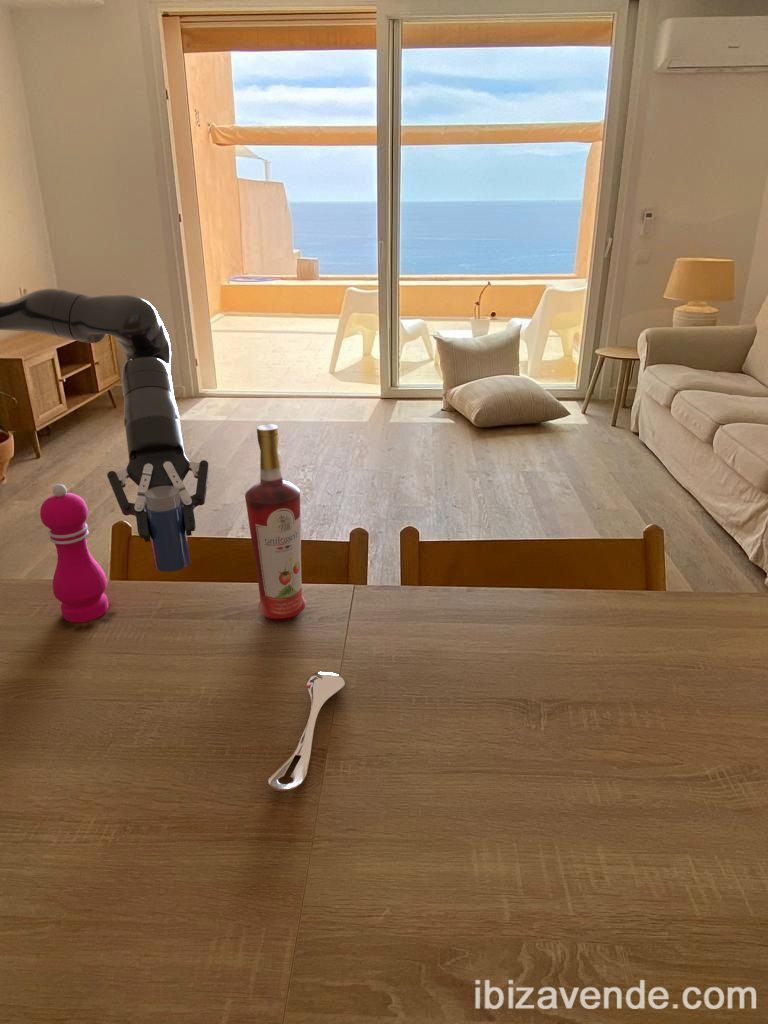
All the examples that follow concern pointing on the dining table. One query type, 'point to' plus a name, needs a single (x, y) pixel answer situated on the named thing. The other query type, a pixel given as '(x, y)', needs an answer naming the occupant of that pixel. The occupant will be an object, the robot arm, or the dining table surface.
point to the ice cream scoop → (307, 729)
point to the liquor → (275, 533)
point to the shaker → (167, 528)
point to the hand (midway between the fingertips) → (168, 536)
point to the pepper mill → (74, 558)
